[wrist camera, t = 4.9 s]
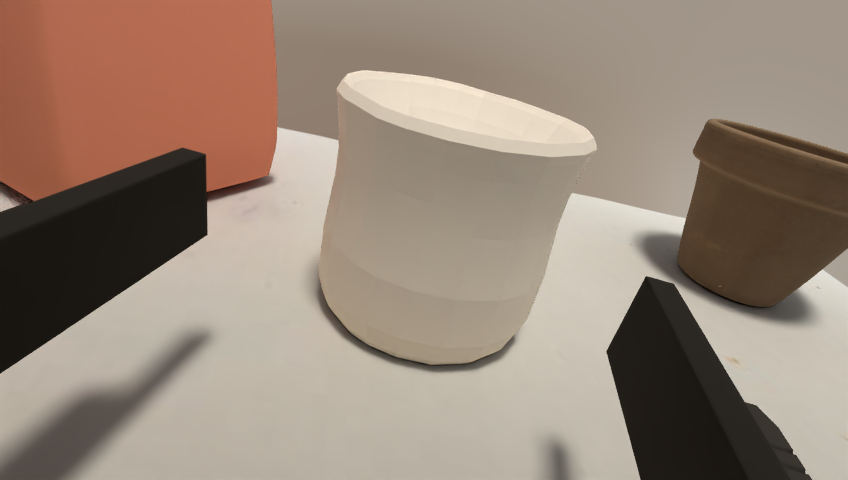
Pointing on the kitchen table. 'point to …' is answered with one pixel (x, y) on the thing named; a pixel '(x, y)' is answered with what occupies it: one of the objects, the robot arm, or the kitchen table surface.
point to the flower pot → (763, 213)
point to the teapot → (134, 88)
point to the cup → (442, 213)
